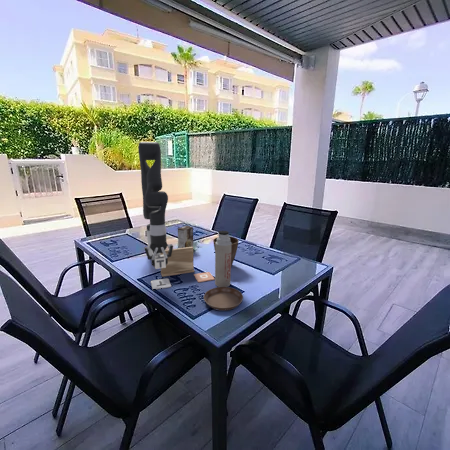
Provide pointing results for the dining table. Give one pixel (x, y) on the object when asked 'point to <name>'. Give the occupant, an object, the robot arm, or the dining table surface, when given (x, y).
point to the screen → (179, 262)
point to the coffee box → (185, 237)
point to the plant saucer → (223, 298)
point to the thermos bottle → (223, 260)
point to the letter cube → (160, 261)
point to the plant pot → (233, 247)
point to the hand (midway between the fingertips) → (159, 265)
